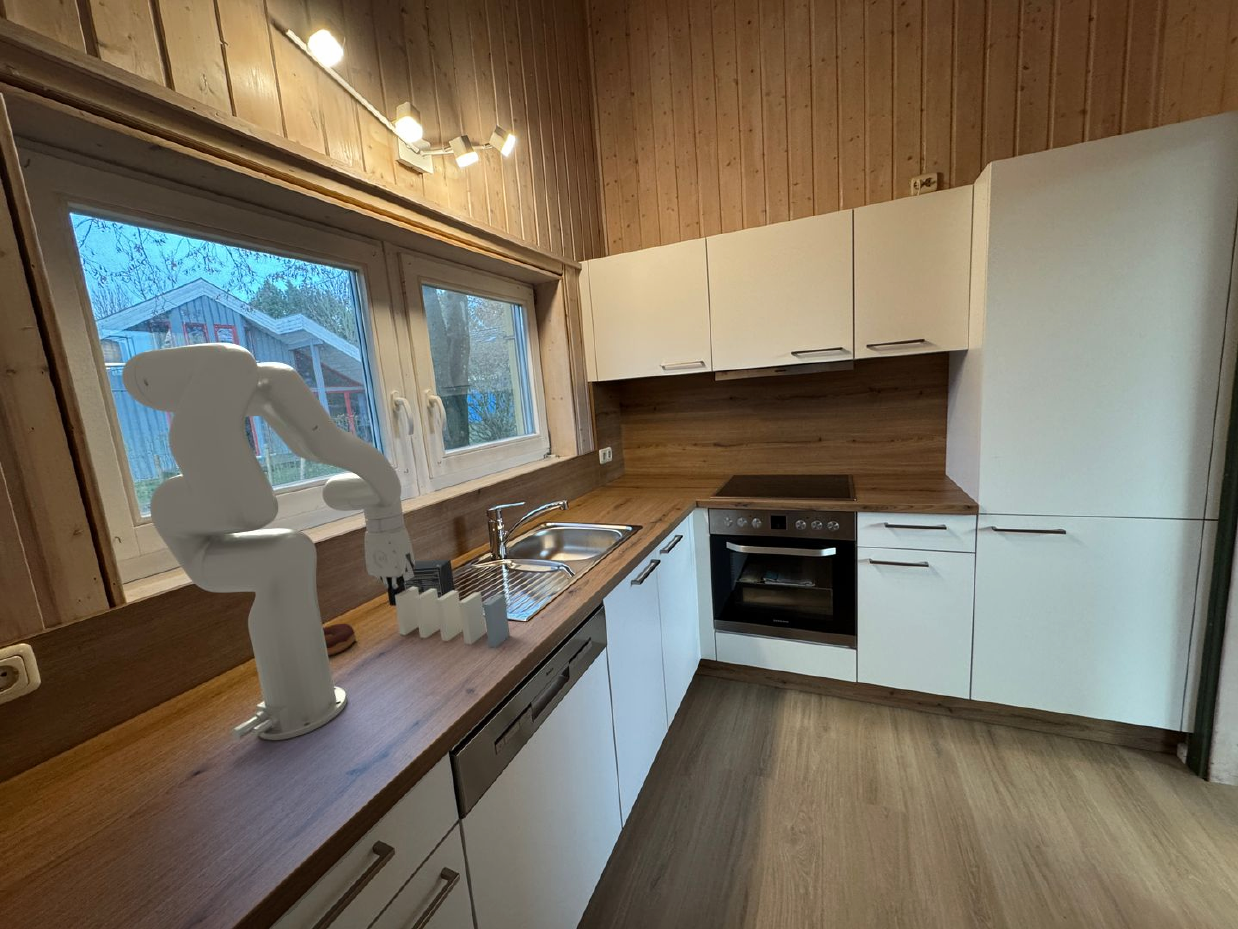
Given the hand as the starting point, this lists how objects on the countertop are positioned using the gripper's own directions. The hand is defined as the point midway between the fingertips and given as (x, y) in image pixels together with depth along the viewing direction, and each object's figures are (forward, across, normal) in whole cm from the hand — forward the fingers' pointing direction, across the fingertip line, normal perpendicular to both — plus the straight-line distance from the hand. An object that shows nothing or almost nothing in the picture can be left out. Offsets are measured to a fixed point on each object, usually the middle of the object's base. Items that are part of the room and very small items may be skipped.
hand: (398, 603), depth 111 cm
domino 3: (+6, +14, 0) cm, 16 cm away
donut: (+6, -10, -11) cm, 16 cm away
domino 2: (+6, +8, 0) cm, 10 cm away
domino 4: (+6, +20, 0) cm, 21 cm away
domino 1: (+6, +2, 0) cm, 6 cm away
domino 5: (+6, +26, 0) cm, 27 cm away
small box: (+6, -3, +13) cm, 15 cm away
